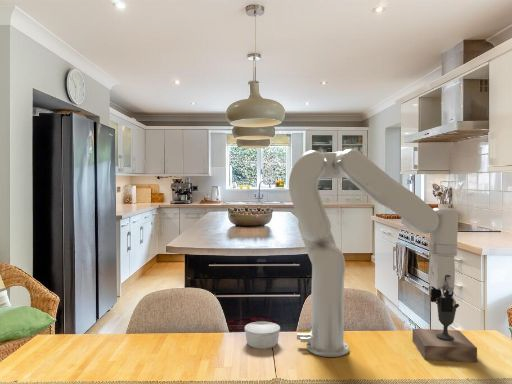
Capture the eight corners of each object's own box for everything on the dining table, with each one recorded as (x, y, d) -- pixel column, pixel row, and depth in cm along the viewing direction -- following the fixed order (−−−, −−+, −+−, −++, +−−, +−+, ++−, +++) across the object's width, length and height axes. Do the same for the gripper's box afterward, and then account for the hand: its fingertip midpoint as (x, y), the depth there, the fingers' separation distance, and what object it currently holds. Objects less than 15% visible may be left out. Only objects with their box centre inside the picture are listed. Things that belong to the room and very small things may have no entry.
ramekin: (273, 335, 136) (273, 319, 136) (285, 348, 125) (285, 331, 125) (240, 339, 133) (240, 322, 133) (249, 352, 122) (249, 334, 122)
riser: (424, 359, 117) (424, 345, 117) (412, 341, 131) (412, 328, 131) (477, 362, 115) (477, 348, 115) (459, 343, 129) (459, 330, 129)
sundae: (455, 335, 125) (458, 286, 125) (458, 342, 119) (461, 291, 118) (432, 331, 127) (434, 283, 127) (433, 339, 121) (436, 288, 121)
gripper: (421, 244, 131) (420, 298, 132) (438, 253, 114) (436, 314, 115) (446, 245, 130) (444, 299, 131) (467, 254, 113) (465, 316, 114)
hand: (441, 306), depth 123 cm, fingers open, 9 cm apart
